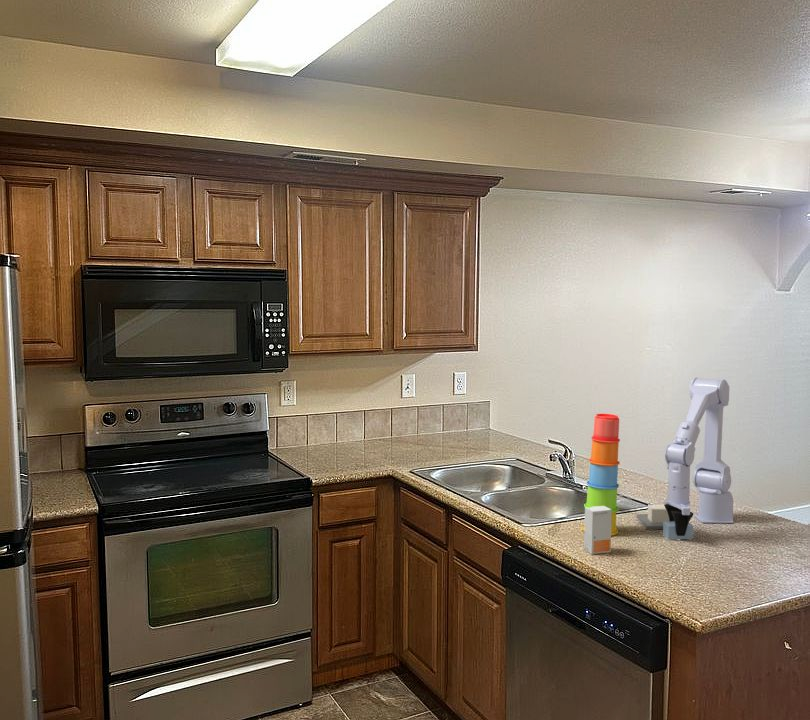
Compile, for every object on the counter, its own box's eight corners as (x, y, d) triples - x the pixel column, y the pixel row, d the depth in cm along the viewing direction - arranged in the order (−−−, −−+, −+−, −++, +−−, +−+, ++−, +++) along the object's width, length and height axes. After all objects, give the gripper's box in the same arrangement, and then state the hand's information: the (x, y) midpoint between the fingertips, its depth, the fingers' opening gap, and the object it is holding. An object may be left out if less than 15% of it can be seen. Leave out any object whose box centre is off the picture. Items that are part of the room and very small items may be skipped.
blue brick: (687, 534, 221) (687, 521, 220) (693, 539, 216) (693, 526, 216) (662, 535, 221) (663, 521, 220) (668, 540, 216) (668, 526, 216)
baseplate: (675, 517, 237) (675, 514, 237) (687, 529, 225) (688, 526, 225) (636, 517, 238) (636, 514, 238) (646, 529, 226) (646, 526, 226)
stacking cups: (593, 523, 232) (594, 410, 229) (624, 531, 225) (626, 414, 222) (575, 531, 224) (576, 415, 221) (606, 539, 217) (608, 419, 214)
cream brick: (671, 517, 233) (671, 505, 233) (675, 522, 229) (675, 509, 229) (647, 517, 234) (647, 505, 233) (651, 522, 229) (651, 509, 229)
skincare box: (591, 555, 205) (592, 511, 204) (583, 550, 209) (584, 507, 208) (611, 552, 207) (612, 509, 206) (603, 547, 211) (603, 505, 210)
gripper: (657, 479, 225) (656, 524, 226) (672, 492, 210) (671, 540, 211) (682, 479, 224) (681, 524, 225) (698, 492, 210) (697, 540, 211)
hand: (677, 532), depth 218 cm, fingers closed on blue brick, 5 cm apart
